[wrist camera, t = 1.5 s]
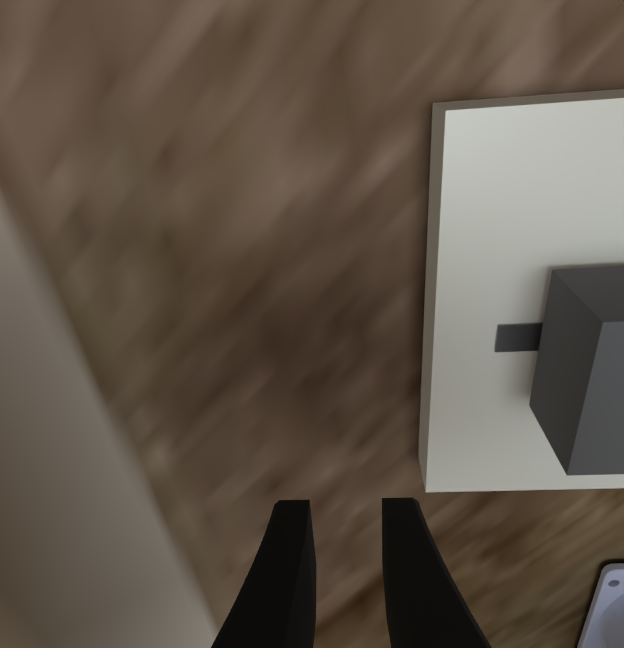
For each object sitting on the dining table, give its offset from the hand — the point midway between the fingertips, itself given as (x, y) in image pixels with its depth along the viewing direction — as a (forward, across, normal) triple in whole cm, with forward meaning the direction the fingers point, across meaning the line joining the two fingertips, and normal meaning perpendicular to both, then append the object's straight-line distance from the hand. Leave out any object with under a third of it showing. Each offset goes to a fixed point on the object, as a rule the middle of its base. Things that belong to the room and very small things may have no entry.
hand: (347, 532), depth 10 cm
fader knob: (+7, -8, 0) cm, 11 cm away
